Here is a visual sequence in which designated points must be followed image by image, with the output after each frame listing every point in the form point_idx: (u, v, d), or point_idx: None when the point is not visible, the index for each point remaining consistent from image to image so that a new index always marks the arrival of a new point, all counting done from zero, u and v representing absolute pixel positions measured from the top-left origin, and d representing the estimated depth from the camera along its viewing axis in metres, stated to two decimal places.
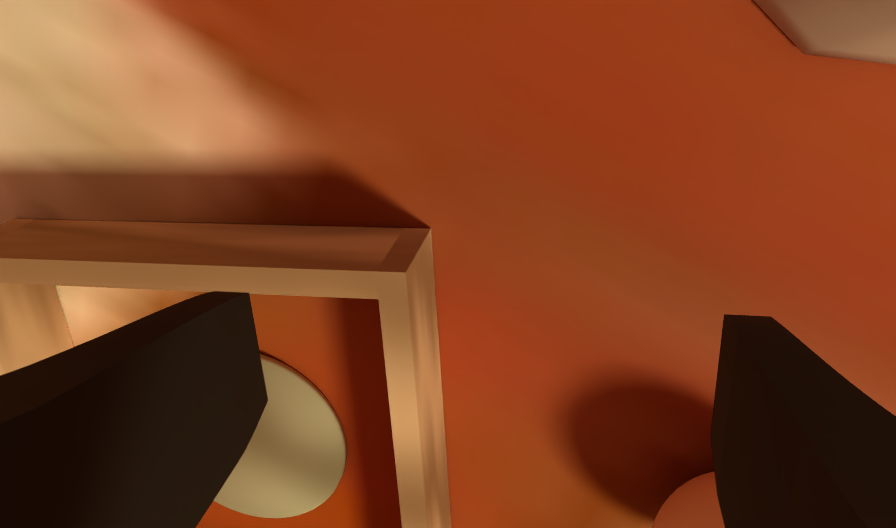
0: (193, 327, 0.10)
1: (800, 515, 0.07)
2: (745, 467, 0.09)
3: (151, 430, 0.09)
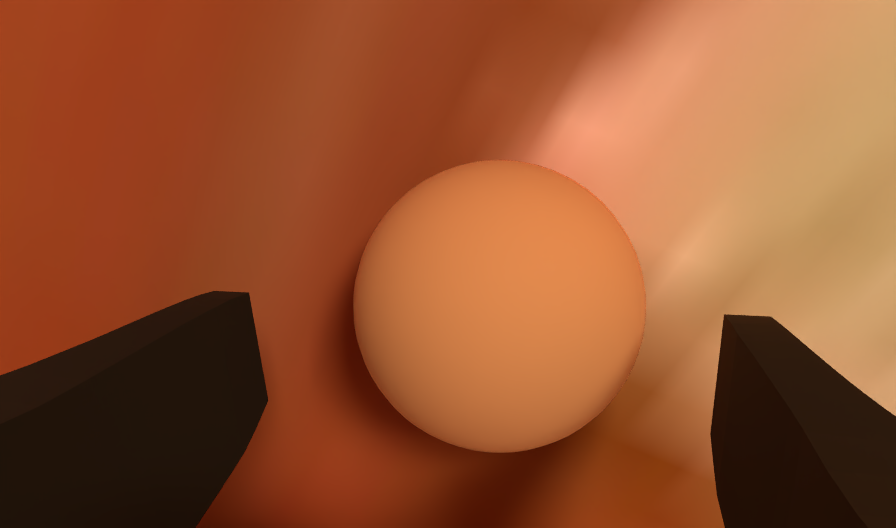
0: (193, 327, 0.10)
1: (800, 515, 0.07)
2: (745, 467, 0.09)
3: (151, 430, 0.09)
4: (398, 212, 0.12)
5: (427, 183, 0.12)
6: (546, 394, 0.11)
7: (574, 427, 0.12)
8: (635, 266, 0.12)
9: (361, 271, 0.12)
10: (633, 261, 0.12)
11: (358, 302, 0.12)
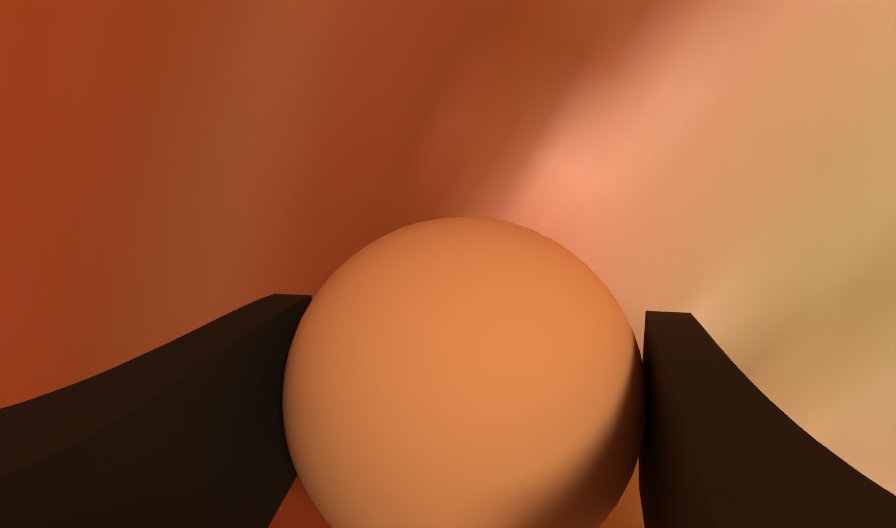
0: (263, 331, 0.10)
1: (683, 504, 0.07)
2: (654, 459, 0.09)
3: (226, 436, 0.09)
4: (335, 287, 0.10)
5: (372, 249, 0.10)
6: None
7: None
8: (633, 356, 0.09)
9: (289, 360, 0.10)
10: (631, 349, 0.09)
11: (285, 400, 0.10)
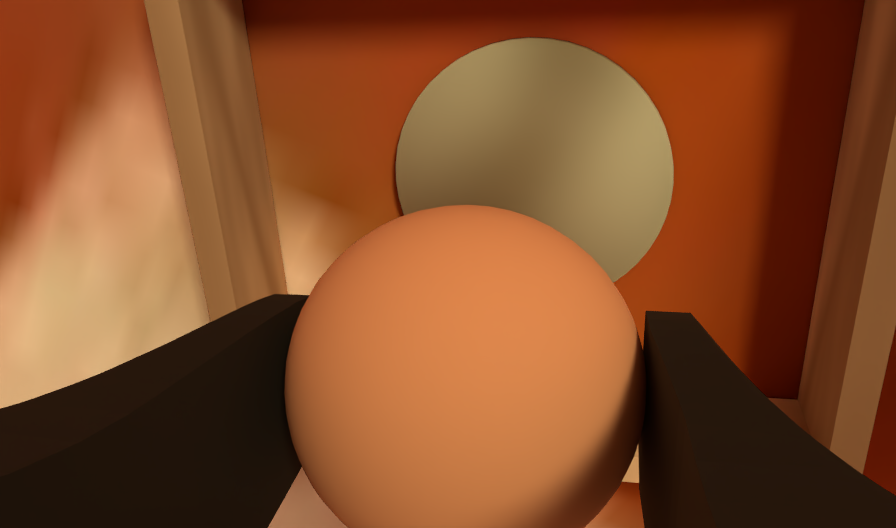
0: (263, 331, 0.10)
1: (683, 504, 0.07)
2: (654, 460, 0.09)
3: (226, 437, 0.09)
4: (338, 275, 0.10)
5: (375, 237, 0.10)
6: (527, 514, 0.09)
7: None
8: (634, 339, 0.10)
9: (292, 349, 0.10)
10: (632, 333, 0.10)
11: (289, 389, 0.10)
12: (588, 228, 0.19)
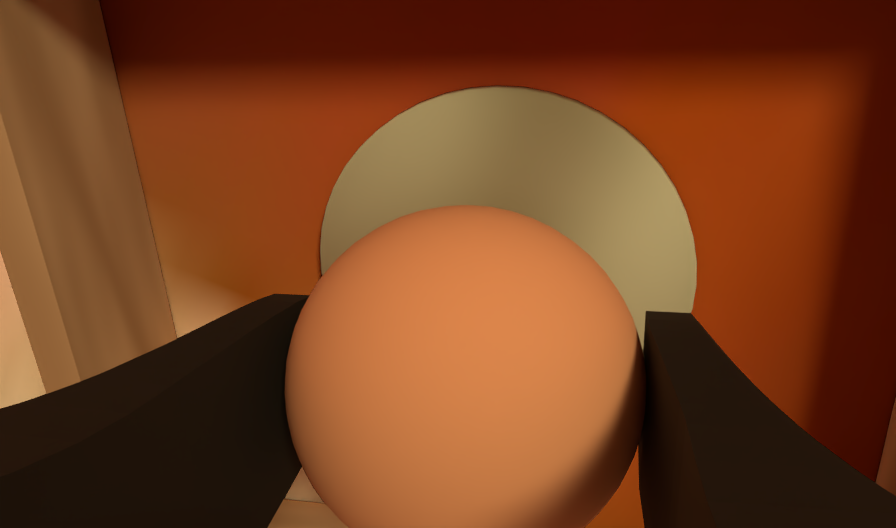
0: (263, 331, 0.10)
1: (683, 504, 0.07)
2: (655, 459, 0.09)
3: (226, 436, 0.09)
4: (337, 275, 0.10)
5: (375, 237, 0.10)
6: (527, 514, 0.09)
7: None
8: (634, 340, 0.10)
9: (292, 349, 0.10)
10: (632, 334, 0.10)
11: (289, 389, 0.10)
12: None
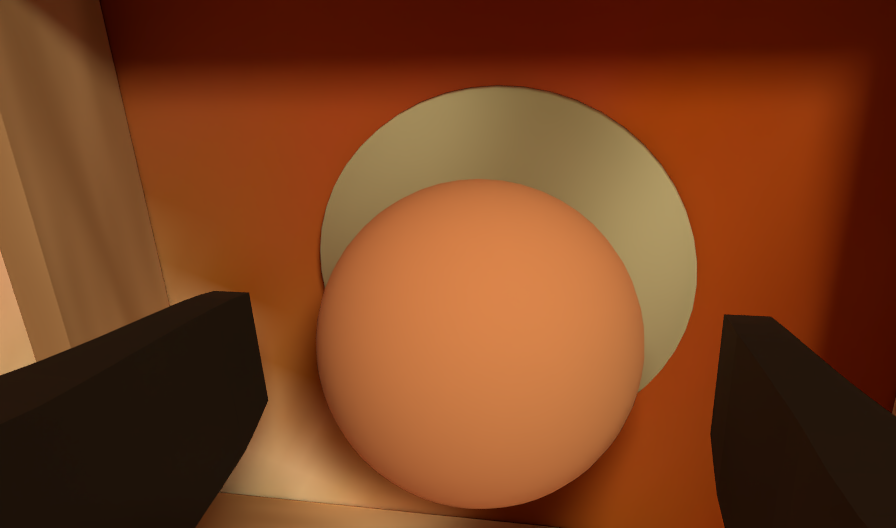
0: (193, 327, 0.10)
1: (800, 515, 0.07)
2: (745, 467, 0.09)
3: (151, 430, 0.09)
4: (366, 240, 0.11)
5: (399, 207, 0.11)
6: (538, 450, 0.10)
7: (568, 481, 0.11)
8: (634, 298, 0.11)
9: (324, 307, 0.11)
10: (631, 293, 0.11)
11: (321, 343, 0.11)
12: None
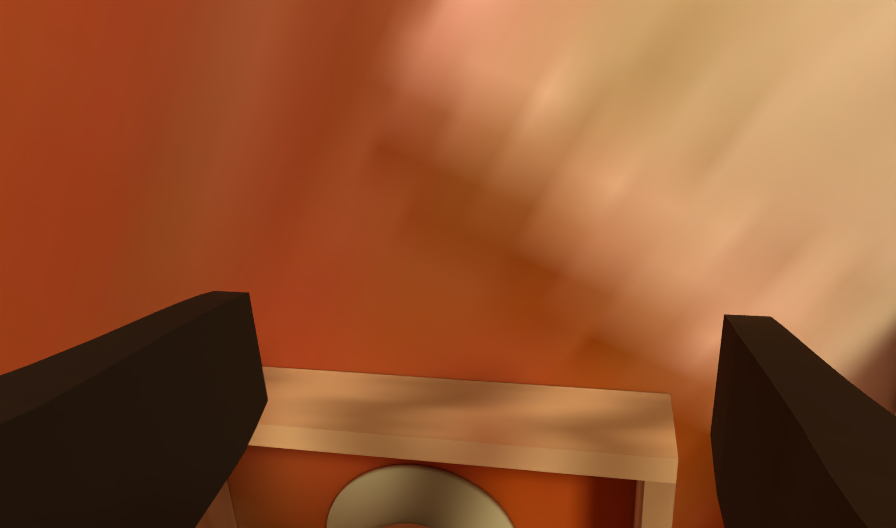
0: (193, 327, 0.10)
1: (800, 515, 0.07)
2: (745, 467, 0.09)
3: (151, 430, 0.09)
4: None
5: None
6: None
7: None
8: None
9: None
10: None
11: None
12: None
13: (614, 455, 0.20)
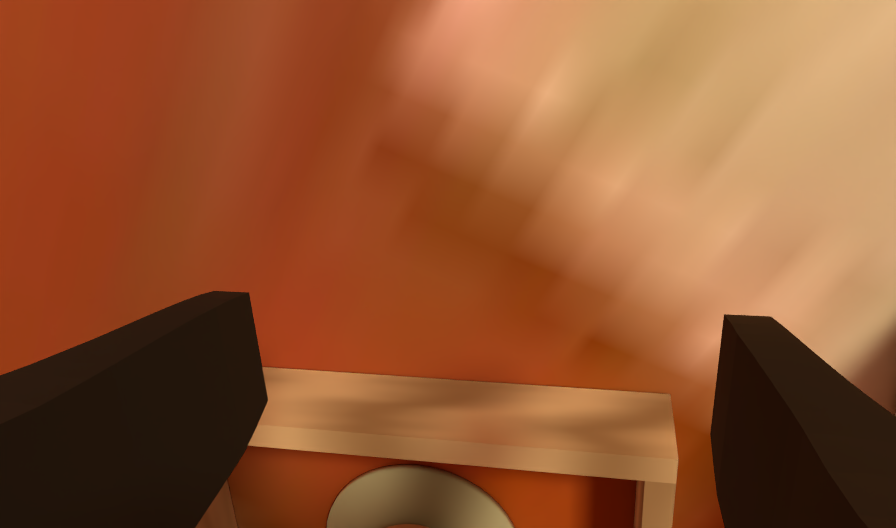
0: (193, 327, 0.10)
1: (800, 515, 0.07)
2: (745, 467, 0.09)
3: (151, 430, 0.09)
4: None
5: None
6: None
7: None
8: None
9: None
10: None
11: None
12: None
13: (614, 455, 0.20)
